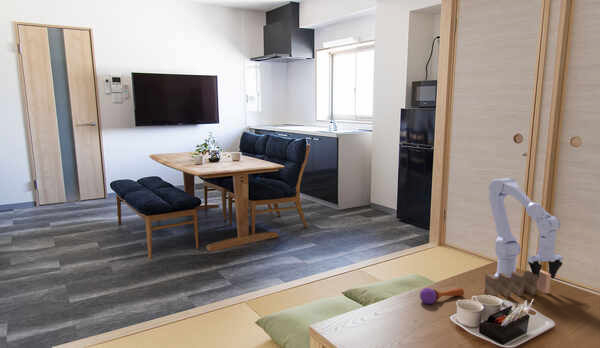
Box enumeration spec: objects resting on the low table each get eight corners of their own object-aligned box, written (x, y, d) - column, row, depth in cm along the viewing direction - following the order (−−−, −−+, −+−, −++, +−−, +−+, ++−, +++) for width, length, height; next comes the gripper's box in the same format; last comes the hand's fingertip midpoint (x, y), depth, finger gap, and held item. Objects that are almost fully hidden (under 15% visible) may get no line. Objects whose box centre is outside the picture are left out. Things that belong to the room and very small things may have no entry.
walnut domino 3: (514, 290, 171) (515, 271, 169) (523, 295, 166) (524, 276, 165) (510, 290, 170) (511, 272, 169) (518, 295, 165) (520, 276, 164)
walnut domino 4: (527, 289, 172) (528, 270, 171) (536, 294, 167) (538, 275, 166) (523, 289, 171) (524, 271, 170) (531, 294, 166) (533, 275, 165)
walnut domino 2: (501, 291, 169) (503, 272, 168) (510, 296, 165) (511, 277, 163) (497, 291, 169) (498, 273, 168) (505, 297, 164) (507, 277, 163)
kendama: (468, 289, 162) (429, 294, 154) (464, 302, 164) (425, 308, 155) (457, 281, 167) (418, 285, 159) (453, 293, 169) (415, 299, 160)
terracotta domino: (539, 288, 173) (541, 269, 172) (549, 293, 168) (551, 274, 167) (535, 288, 173) (537, 270, 171) (544, 293, 168) (546, 274, 167)
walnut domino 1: (488, 292, 168) (490, 273, 167) (496, 297, 163) (498, 278, 162) (484, 293, 168) (485, 274, 167) (492, 298, 163) (493, 278, 162)
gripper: (538, 250, 162) (535, 283, 164) (570, 248, 165) (566, 280, 167) (525, 244, 169) (522, 276, 171) (556, 242, 172) (552, 274, 174)
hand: (543, 278), depth 170 cm, fingers open, 7 cm apart
